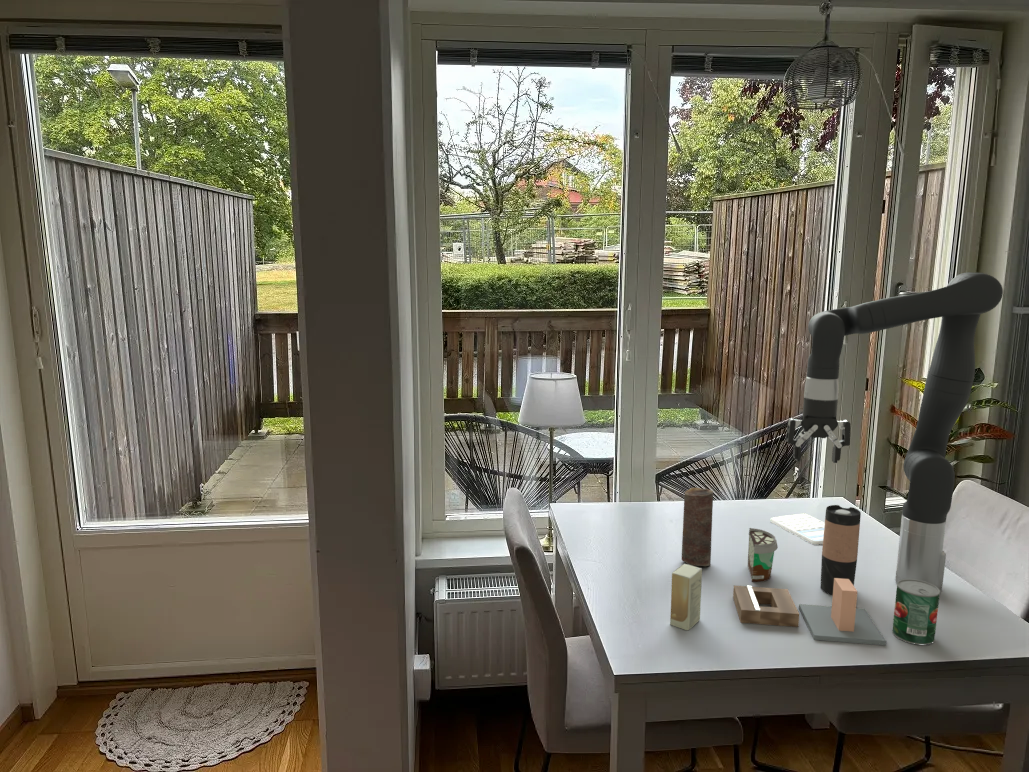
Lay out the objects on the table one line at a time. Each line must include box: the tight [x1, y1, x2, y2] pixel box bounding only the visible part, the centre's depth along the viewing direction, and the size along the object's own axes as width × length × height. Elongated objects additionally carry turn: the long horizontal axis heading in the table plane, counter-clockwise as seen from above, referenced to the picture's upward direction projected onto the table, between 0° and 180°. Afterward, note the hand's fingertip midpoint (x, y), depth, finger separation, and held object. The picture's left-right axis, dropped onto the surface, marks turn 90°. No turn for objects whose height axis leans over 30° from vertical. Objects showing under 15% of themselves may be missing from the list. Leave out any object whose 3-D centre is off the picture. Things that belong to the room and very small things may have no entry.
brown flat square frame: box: [732, 584, 800, 628], centre depth 162 cm, size 12×12×3 cm
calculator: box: [769, 512, 825, 546], centre depth 212 cm, size 13×20×2 cm, turn 18°
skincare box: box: [669, 563, 703, 631], centre depth 156 cm, size 6×4×12 cm
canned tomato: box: [891, 579, 941, 645], centre depth 151 cm, size 8×8×11 cm
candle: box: [681, 487, 714, 567], centre depth 186 cm, size 8×7×20 cm
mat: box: [798, 603, 887, 646], centre depth 156 cm, size 14×14×1 cm
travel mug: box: [820, 504, 862, 596], centre depth 172 cm, size 8×8×20 cm
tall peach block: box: [831, 578, 858, 632], centre depth 154 cm, size 3×6×9 cm, turn 171°
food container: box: [747, 527, 779, 583], centre depth 181 cm, size 12×6×10 cm, turn 168°
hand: (815, 461), depth 176 cm, fingers open, 8 cm apart
